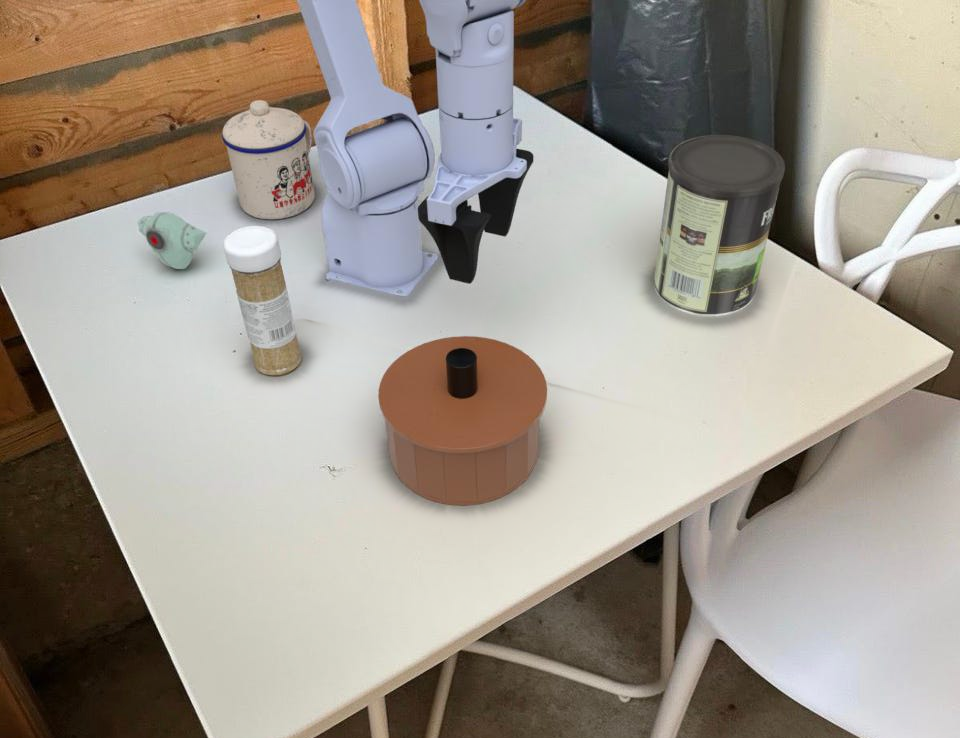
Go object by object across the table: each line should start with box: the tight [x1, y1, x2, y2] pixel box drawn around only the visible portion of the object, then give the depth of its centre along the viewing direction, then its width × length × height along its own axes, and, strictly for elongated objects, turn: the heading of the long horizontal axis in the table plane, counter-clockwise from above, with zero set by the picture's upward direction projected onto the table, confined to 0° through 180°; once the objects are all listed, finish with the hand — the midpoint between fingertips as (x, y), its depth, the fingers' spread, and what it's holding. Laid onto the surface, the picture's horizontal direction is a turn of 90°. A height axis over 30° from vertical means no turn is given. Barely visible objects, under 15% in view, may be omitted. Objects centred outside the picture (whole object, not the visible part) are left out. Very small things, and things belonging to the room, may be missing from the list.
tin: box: [384, 418, 540, 506], centre depth 76 cm, size 12×12×6 cm
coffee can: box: [653, 134, 786, 317], centre depth 89 cm, size 10×10×14 cm
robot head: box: [137, 211, 207, 270], centre depth 96 cm, size 8×4×7 cm, turn 65°
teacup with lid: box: [221, 99, 316, 220], centre depth 104 cm, size 12×9×12 cm
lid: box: [377, 335, 548, 453], centre depth 73 cm, size 13×13×4 cm
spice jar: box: [222, 225, 303, 376], centre depth 82 cm, size 5×5×13 cm
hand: (479, 255), depth 80 cm, fingers open, 7 cm apart
